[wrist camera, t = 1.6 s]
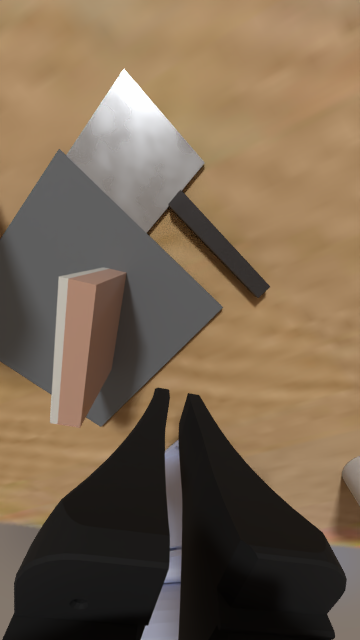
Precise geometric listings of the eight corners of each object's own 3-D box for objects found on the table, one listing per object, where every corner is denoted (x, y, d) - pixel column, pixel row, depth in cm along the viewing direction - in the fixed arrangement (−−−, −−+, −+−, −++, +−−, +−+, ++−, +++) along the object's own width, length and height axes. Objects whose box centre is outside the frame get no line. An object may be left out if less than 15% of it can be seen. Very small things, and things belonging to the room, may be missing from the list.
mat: (102, 423, 24) (100, 426, 24) (-50, 323, 20) (-56, 324, 20) (221, 306, 20) (222, 307, 20) (62, 151, 16) (59, 148, 16)
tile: (126, 272, 19) (96, 284, 11) (111, 369, 21) (79, 427, 14) (103, 267, 18) (58, 276, 11) (91, 365, 21) (50, 422, 14)
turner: (288, 262, 19) (295, 263, 18) (232, 316, 21) (235, 319, 19) (124, 72, 15) (121, 58, 14) (68, 157, 16) (60, 150, 15)
